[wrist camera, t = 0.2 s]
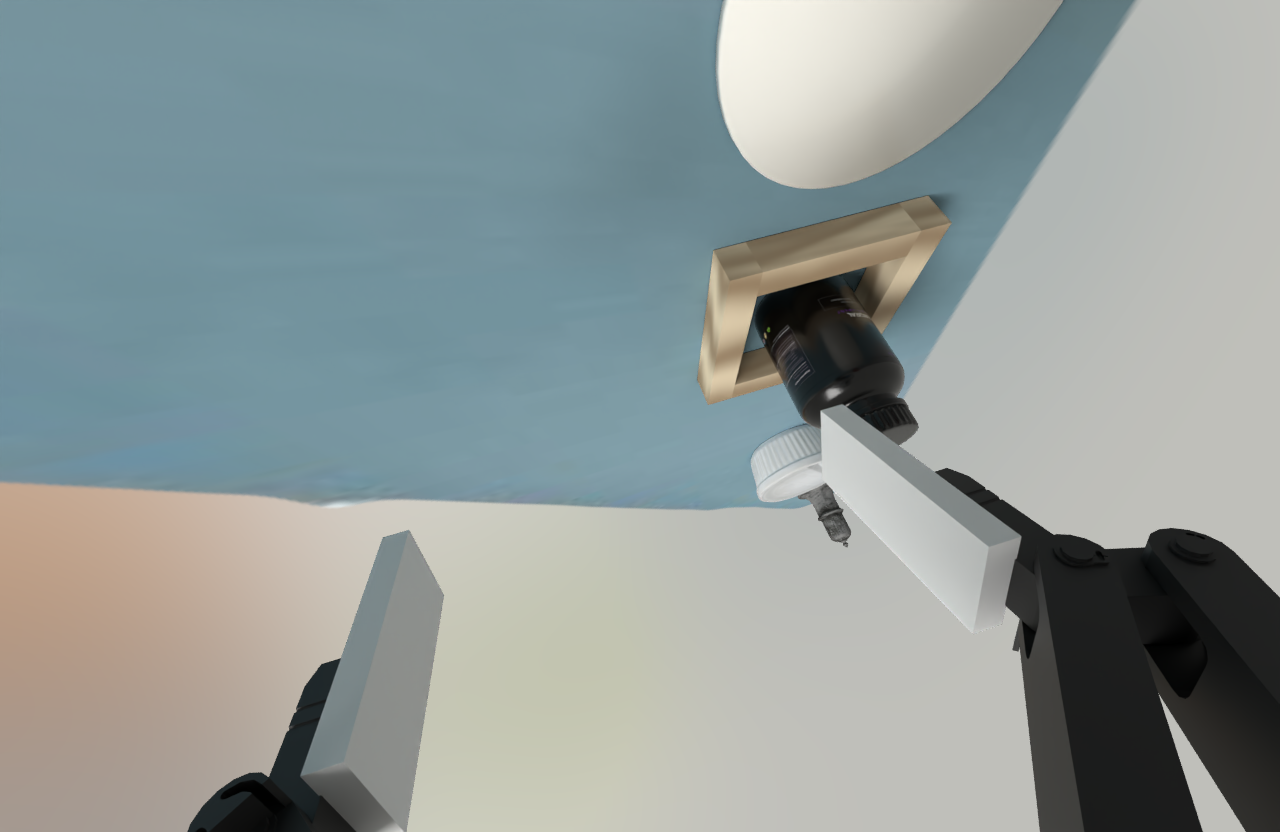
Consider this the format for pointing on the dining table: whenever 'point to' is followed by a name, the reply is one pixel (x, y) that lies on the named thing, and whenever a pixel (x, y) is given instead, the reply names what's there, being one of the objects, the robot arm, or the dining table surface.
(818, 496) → the dark chess piece
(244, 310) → the dining table surface
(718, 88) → the ceramic coaster
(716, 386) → the wooden square frame
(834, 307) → the supplement bottle
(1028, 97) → the dining table surface
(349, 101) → the dining table surface
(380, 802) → the robot arm
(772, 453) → the ramekin
